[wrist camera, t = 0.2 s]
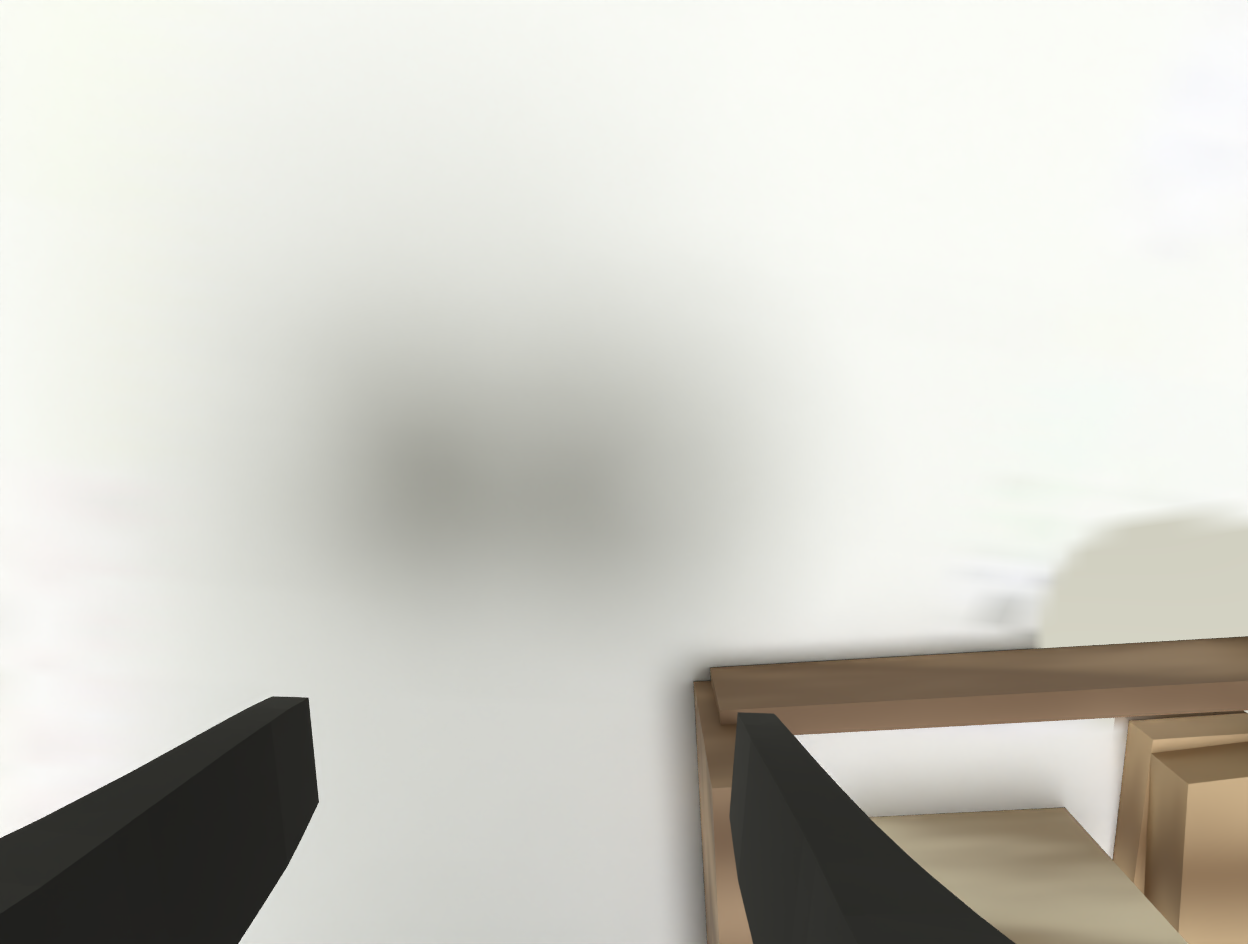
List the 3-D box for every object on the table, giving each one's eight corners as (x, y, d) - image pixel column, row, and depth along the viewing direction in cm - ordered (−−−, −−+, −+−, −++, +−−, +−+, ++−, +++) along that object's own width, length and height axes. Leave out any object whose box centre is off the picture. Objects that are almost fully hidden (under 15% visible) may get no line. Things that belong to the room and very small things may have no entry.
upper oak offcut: (1242, 950, 22) (1281, 991, 21) (1140, 961, 22) (1174, 1002, 21) (1262, 739, 20) (1308, 769, 19) (1150, 753, 20) (1188, 784, 19)
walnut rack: (1208, 1003, 24) (1356, 1175, 19) (711, 1023, 24) (731, 1195, 20) (1278, 634, 20) (1483, 731, 15) (692, 668, 21) (711, 772, 16)
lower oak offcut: (1193, 925, 24) (1232, 967, 22) (1090, 930, 24) (1121, 972, 22) (1230, 702, 22) (1276, 731, 20) (1115, 710, 22) (1152, 739, 20)
